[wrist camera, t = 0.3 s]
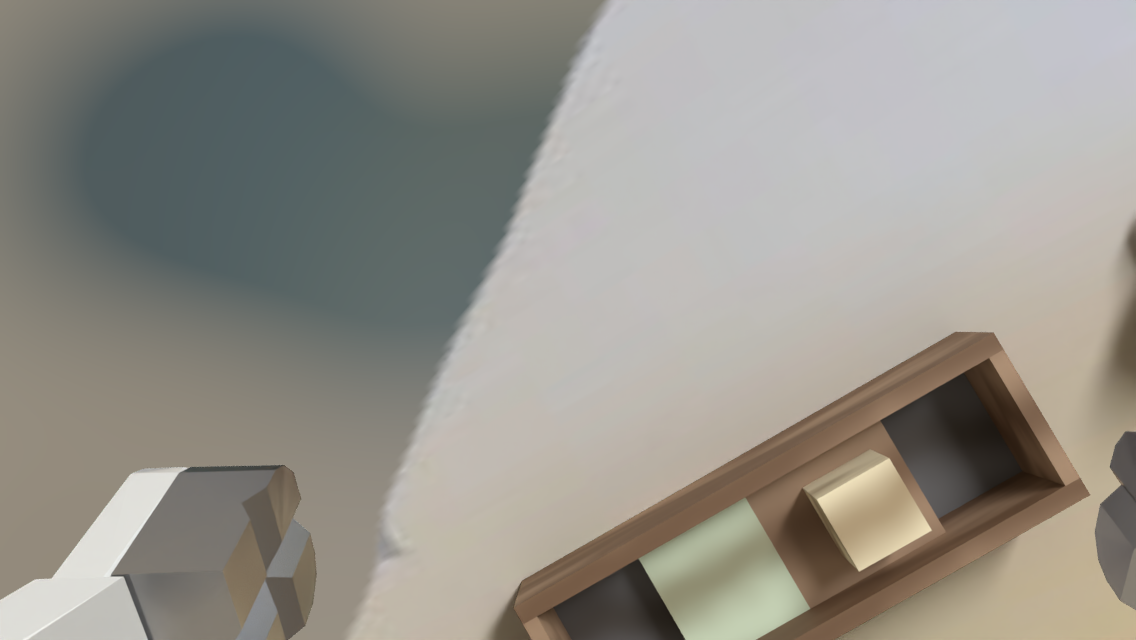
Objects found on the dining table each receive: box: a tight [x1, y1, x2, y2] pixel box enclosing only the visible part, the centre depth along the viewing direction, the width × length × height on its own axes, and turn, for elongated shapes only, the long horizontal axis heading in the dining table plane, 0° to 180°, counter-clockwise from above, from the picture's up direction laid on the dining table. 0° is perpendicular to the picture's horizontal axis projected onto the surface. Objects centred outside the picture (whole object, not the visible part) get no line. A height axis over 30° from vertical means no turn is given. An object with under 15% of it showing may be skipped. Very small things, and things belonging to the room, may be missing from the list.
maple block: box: [803, 449, 932, 572], centre depth 57 cm, size 5×5×4 cm
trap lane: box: [513, 332, 1090, 640], centre depth 59 cm, size 11×34×6 cm, turn 120°
